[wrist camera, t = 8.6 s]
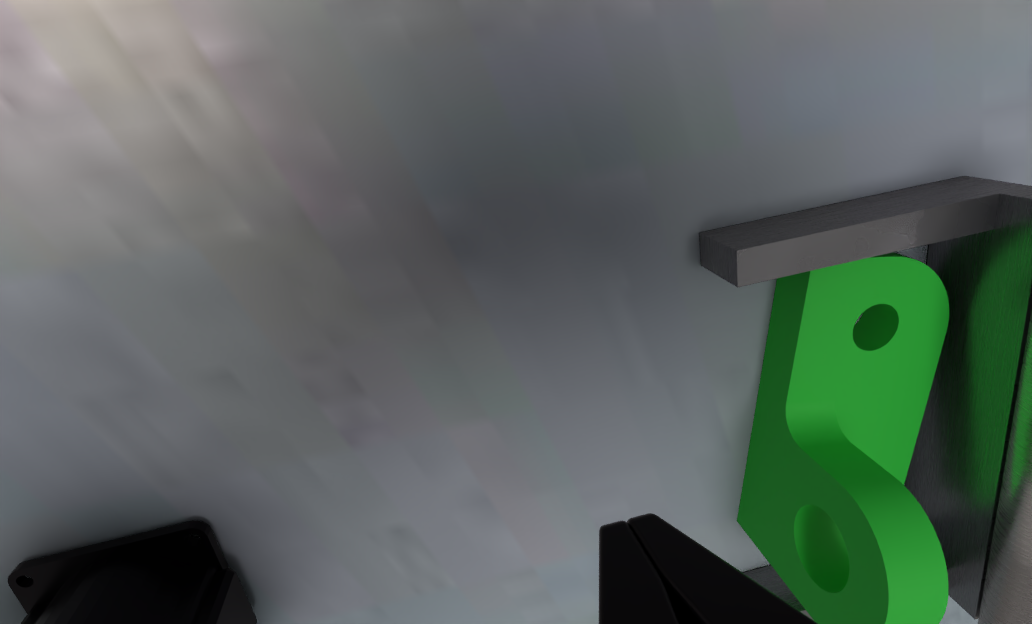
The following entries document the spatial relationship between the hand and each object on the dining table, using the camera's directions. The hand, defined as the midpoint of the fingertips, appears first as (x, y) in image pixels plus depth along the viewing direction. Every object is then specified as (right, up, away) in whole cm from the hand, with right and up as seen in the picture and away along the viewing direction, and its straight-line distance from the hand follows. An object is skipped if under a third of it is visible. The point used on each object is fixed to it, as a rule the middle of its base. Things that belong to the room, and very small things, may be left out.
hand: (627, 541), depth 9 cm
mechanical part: (+11, 0, +15) cm, 19 cm away
